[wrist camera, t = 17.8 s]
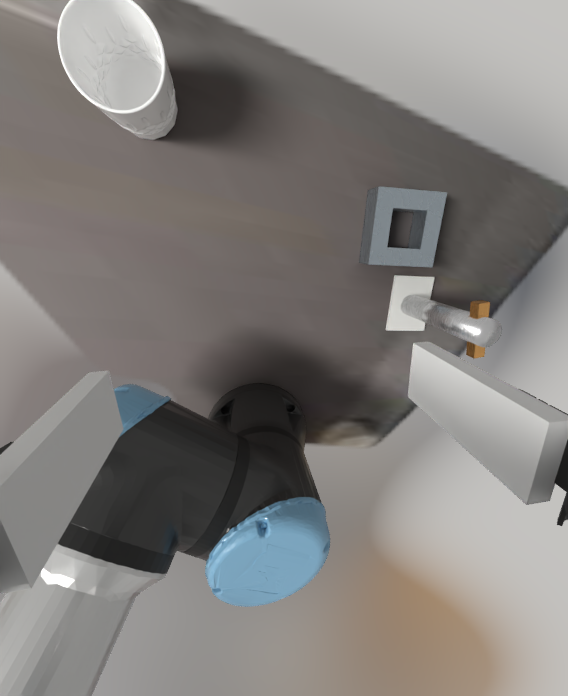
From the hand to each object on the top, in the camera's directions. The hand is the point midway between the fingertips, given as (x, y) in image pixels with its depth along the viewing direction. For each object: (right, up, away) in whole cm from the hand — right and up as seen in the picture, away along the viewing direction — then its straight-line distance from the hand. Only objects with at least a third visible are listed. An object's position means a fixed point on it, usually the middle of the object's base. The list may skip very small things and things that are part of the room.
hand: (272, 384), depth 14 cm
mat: (+19, +8, +33) cm, 39 cm away
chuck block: (+15, +18, +29) cm, 37 cm away
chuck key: (+19, +8, +32) cm, 38 cm away
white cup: (-15, +28, +21) cm, 38 cm away
